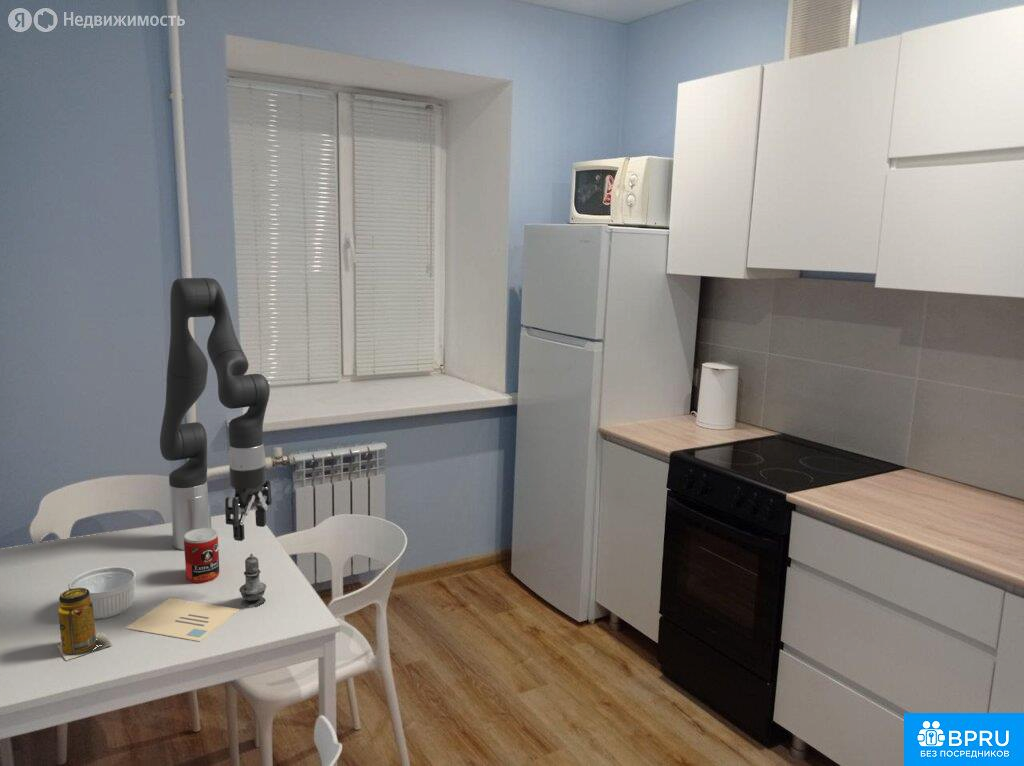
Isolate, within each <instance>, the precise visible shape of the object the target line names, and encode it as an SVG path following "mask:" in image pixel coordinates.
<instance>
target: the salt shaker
mask: <svg viewBox="0 0 1024 766" xmlns="http://www.w3.org/2000/svg"><path fill="white" fill-rule="evenodd" d="M244 564H245V565H244V567H245V571H244V572H243V575H244V578H245V581H244V582H245V583H244V584H242V585H241V586H240V587H239V590H238V591H239V592H240V595H241V597H242V598H243V599H242V600H241V606H242V607H243V606H244V608H246V607H247V609H254V608H253V607H255V608H258V606H259V607H260V605H261V606H263V605H264V604H265V603H266V598H265V597H263V596H264V595H265V591H266V589H267V584H265V583H264V582H261V580H260V574H261V570H260V568H259V567H260V566H259V559H258V557H256V556H254V554H253V553H250V555H249V556H247V558H246V559H245V561H244ZM264 602H265V603H264ZM262 604H263V605H262Z"/></svg>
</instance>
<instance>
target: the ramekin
mask: <svg viewBox="0 0 1024 766" xmlns="http://www.w3.org/2000/svg"><path fill="white" fill-rule="evenodd" d="M136 582H137V576H136V572H135V571H134V570H133V569H132V568H129V567H124V566H105V567H104V566H103V567H99V568H93V569H91V570H88V571H85V572H82V573H81V574H78V575H76V576H75V577H73V578H72V580H70V581H69V584H68V590H70V589H73V588H86V589H88V590H89V592H90V600H91V601H92V603H93V611H94V620H100V619H99V618H103V619H106V617H108V618H111V616H112V617H115V616H117V614H118V615H120V614H122V613H124V612H125V611H127V610H128V609H130V607H131V605H132V604H133V603H134V600H135V590H136ZM123 611H124V612H123ZM121 612H122V613H121ZM119 613H120V614H119ZM114 615H115V616H114Z"/></svg>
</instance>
